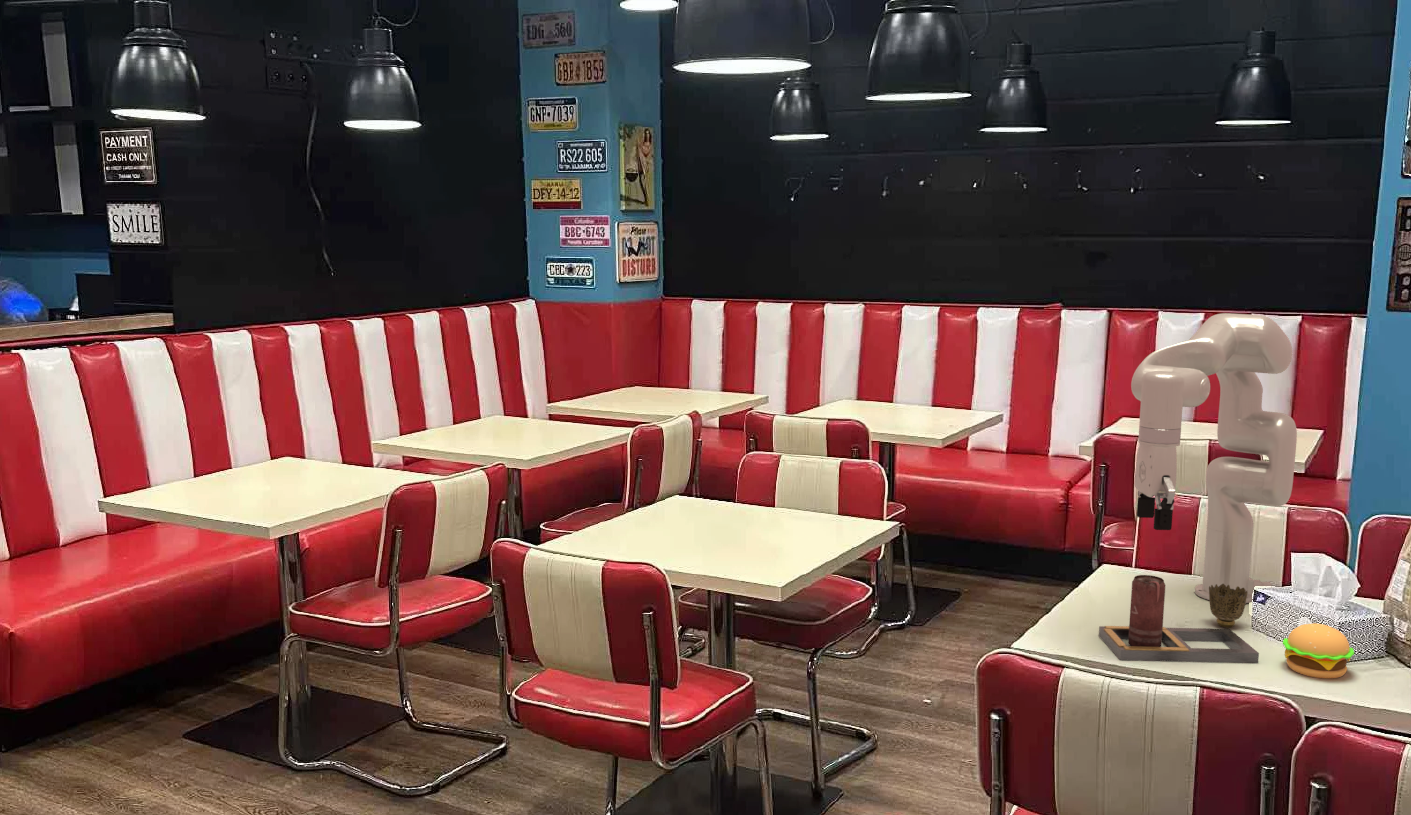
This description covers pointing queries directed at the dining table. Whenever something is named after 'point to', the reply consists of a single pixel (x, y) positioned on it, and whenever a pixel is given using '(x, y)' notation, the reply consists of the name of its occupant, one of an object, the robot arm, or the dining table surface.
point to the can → (1146, 611)
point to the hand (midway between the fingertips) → (1153, 523)
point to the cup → (1227, 604)
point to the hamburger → (1317, 651)
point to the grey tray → (1181, 646)
